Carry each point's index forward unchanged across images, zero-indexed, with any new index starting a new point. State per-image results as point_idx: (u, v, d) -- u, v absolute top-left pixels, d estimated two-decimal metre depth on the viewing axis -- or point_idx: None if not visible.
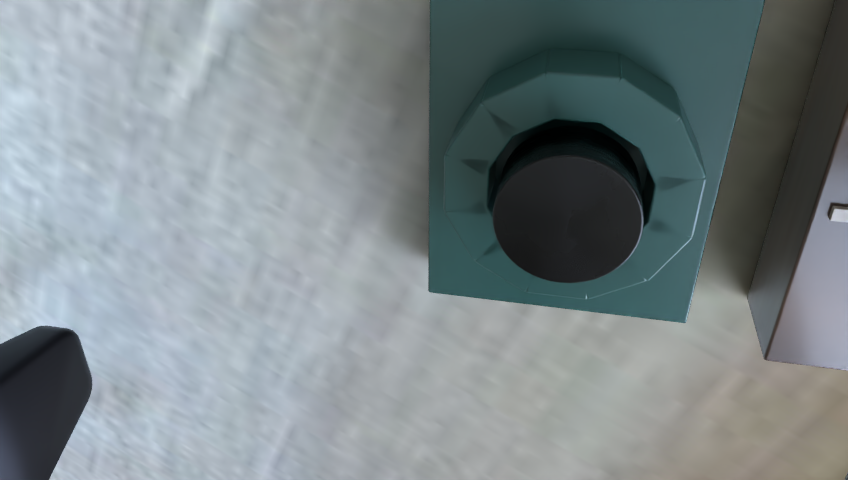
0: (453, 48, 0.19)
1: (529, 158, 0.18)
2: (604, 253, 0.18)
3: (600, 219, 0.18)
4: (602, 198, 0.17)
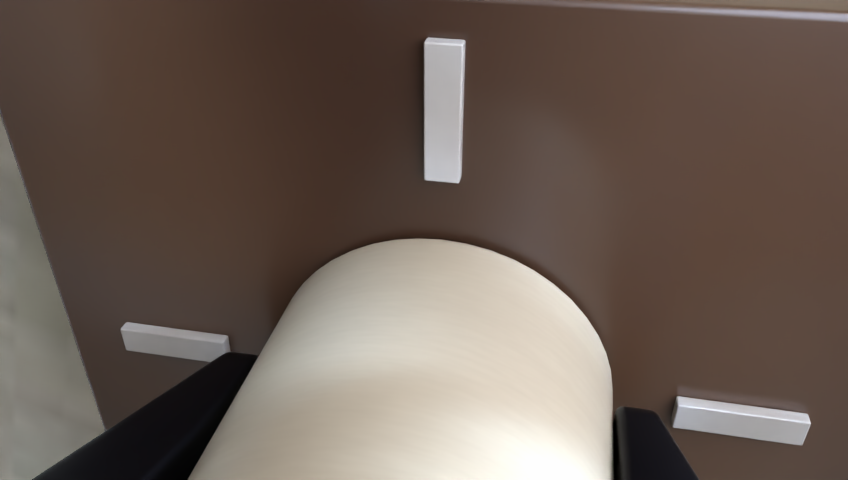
0: None
1: None
2: None
3: None
4: None
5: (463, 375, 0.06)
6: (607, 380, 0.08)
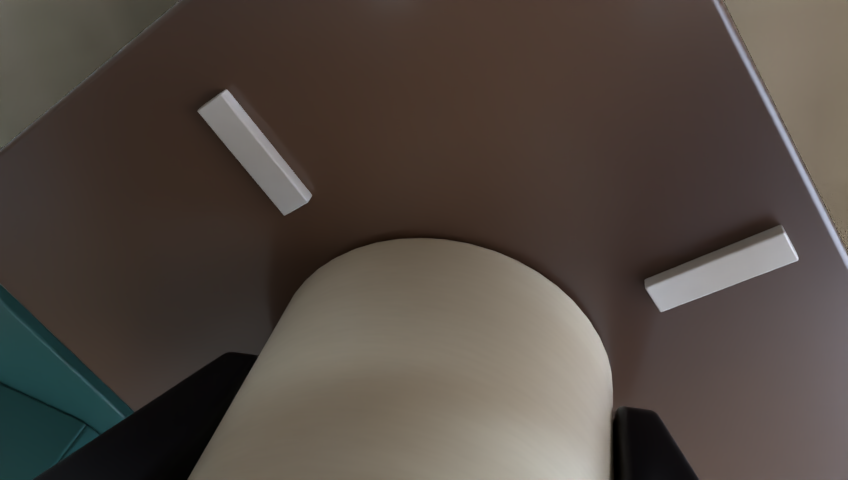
0: None
1: None
2: None
3: None
4: None
5: (468, 375, 0.06)
6: (608, 382, 0.08)
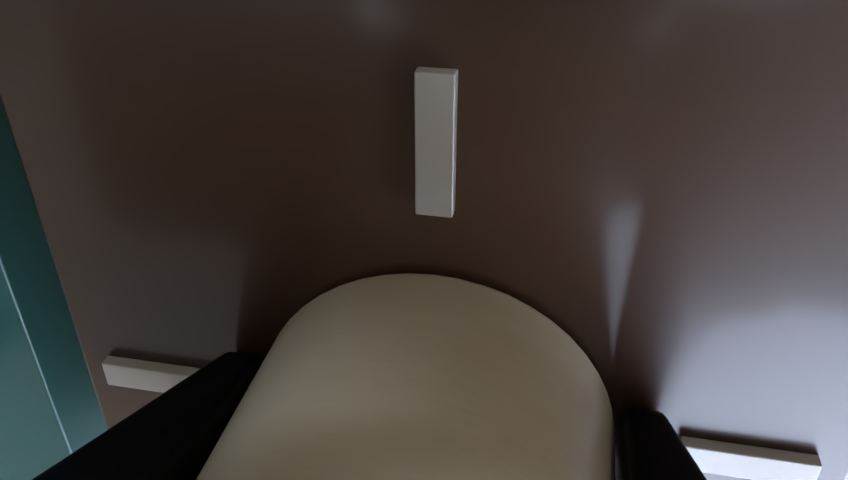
0: None
1: None
2: None
3: None
4: None
5: (454, 425, 0.06)
6: (608, 421, 0.07)
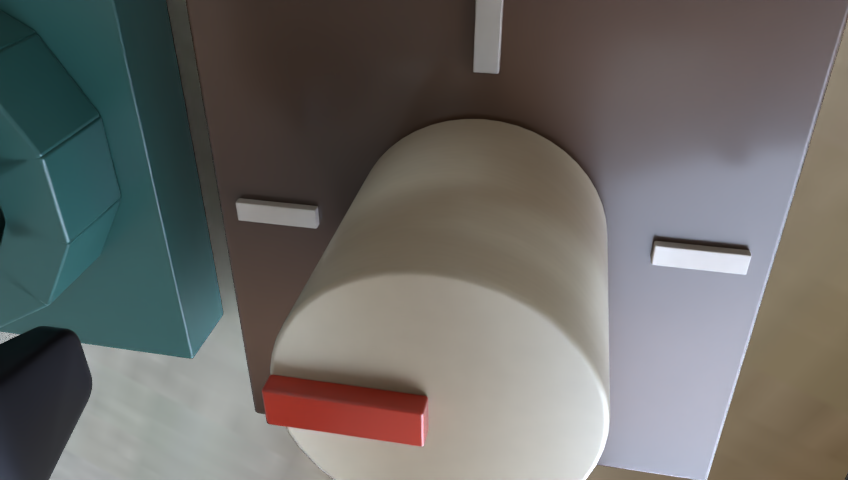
0: None
1: None
2: None
3: None
4: None
5: (504, 187, 0.09)
6: (603, 220, 0.11)
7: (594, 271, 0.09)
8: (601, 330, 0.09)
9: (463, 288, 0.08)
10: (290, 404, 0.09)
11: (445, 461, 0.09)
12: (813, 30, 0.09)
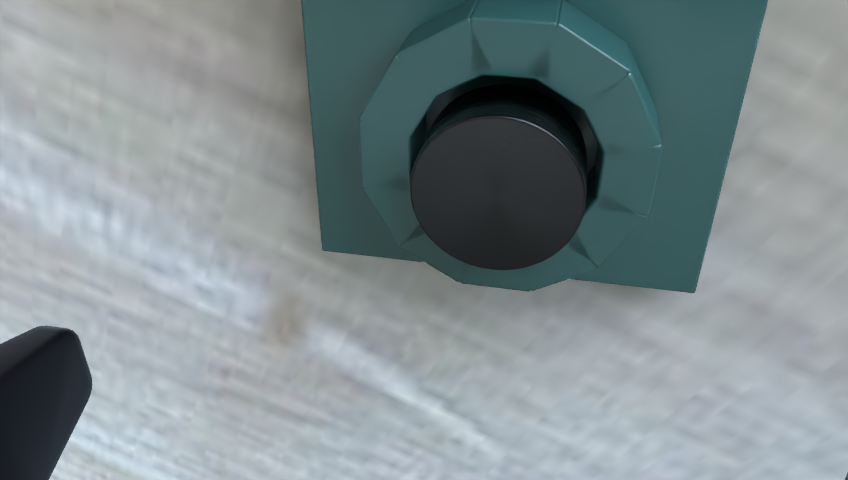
0: (388, 239, 0.20)
1: None
2: (537, 157, 0.14)
3: (487, 162, 0.15)
4: (459, 161, 0.15)
5: None
6: None
7: None
8: None
9: None
10: None
11: None
12: None
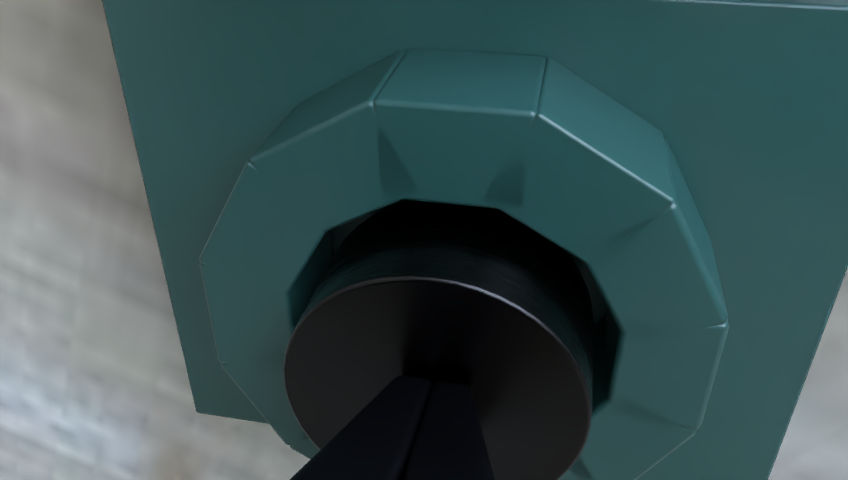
0: None
1: None
2: (501, 349, 0.08)
3: (413, 352, 0.08)
4: (363, 347, 0.08)
5: None
6: None
7: None
8: None
9: None
10: None
11: None
12: None
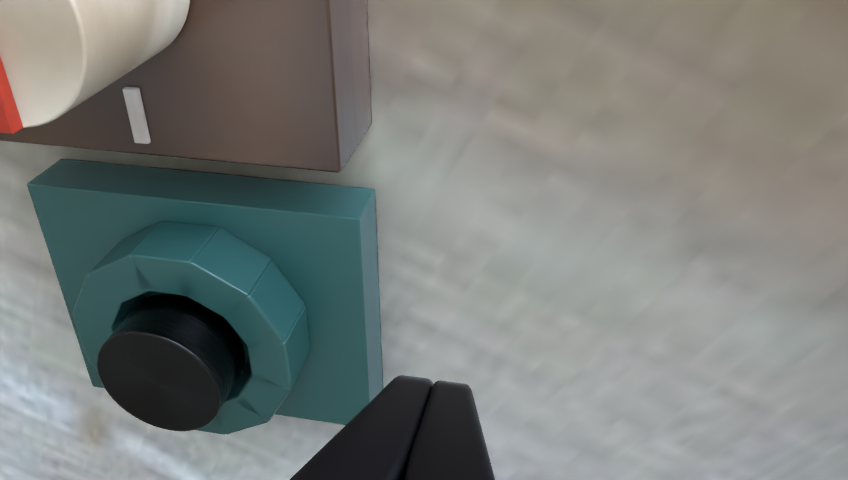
0: None
1: None
2: (176, 360, 0.20)
3: (145, 361, 0.20)
4: (125, 359, 0.20)
5: None
6: None
7: None
8: None
9: None
10: None
11: (14, 14, 0.13)
12: None
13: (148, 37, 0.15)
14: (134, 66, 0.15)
